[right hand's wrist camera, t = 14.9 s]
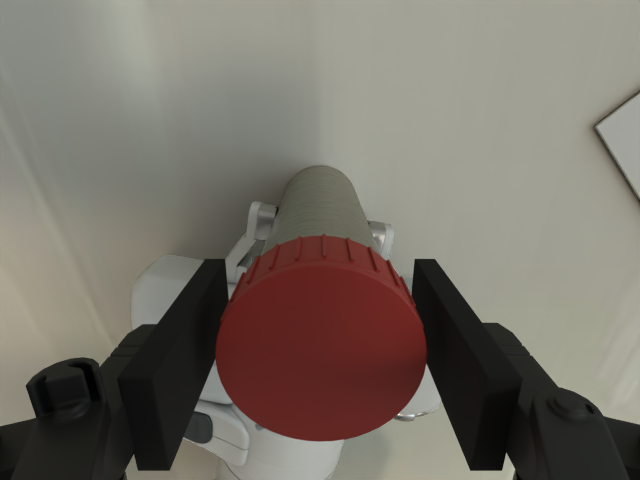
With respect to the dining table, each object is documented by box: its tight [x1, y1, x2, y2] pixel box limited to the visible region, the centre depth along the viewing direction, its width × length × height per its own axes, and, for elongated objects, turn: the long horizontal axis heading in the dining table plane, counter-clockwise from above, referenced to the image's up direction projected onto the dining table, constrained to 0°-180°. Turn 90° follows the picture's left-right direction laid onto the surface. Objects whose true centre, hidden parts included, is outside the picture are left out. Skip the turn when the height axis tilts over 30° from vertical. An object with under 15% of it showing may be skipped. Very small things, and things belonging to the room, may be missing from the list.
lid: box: [215, 234, 427, 442], centre depth 12 cm, size 6×6×2 cm
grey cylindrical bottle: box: [260, 166, 382, 257], centre depth 19 cm, size 5×5×18 cm
